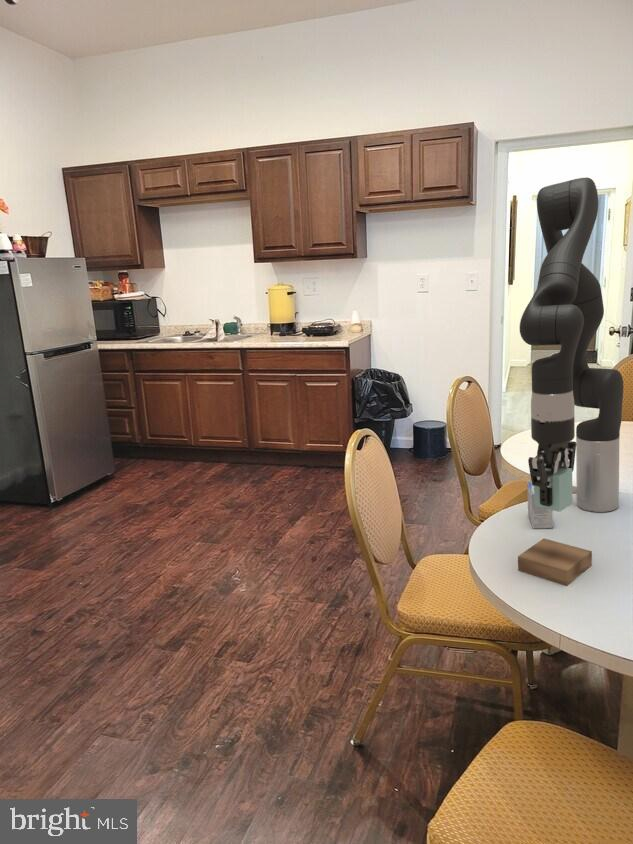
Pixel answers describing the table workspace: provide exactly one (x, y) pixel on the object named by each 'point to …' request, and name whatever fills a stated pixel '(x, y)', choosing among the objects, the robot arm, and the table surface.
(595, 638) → the table surface
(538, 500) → the teal block
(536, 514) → the medicine box
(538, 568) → the walnut base
